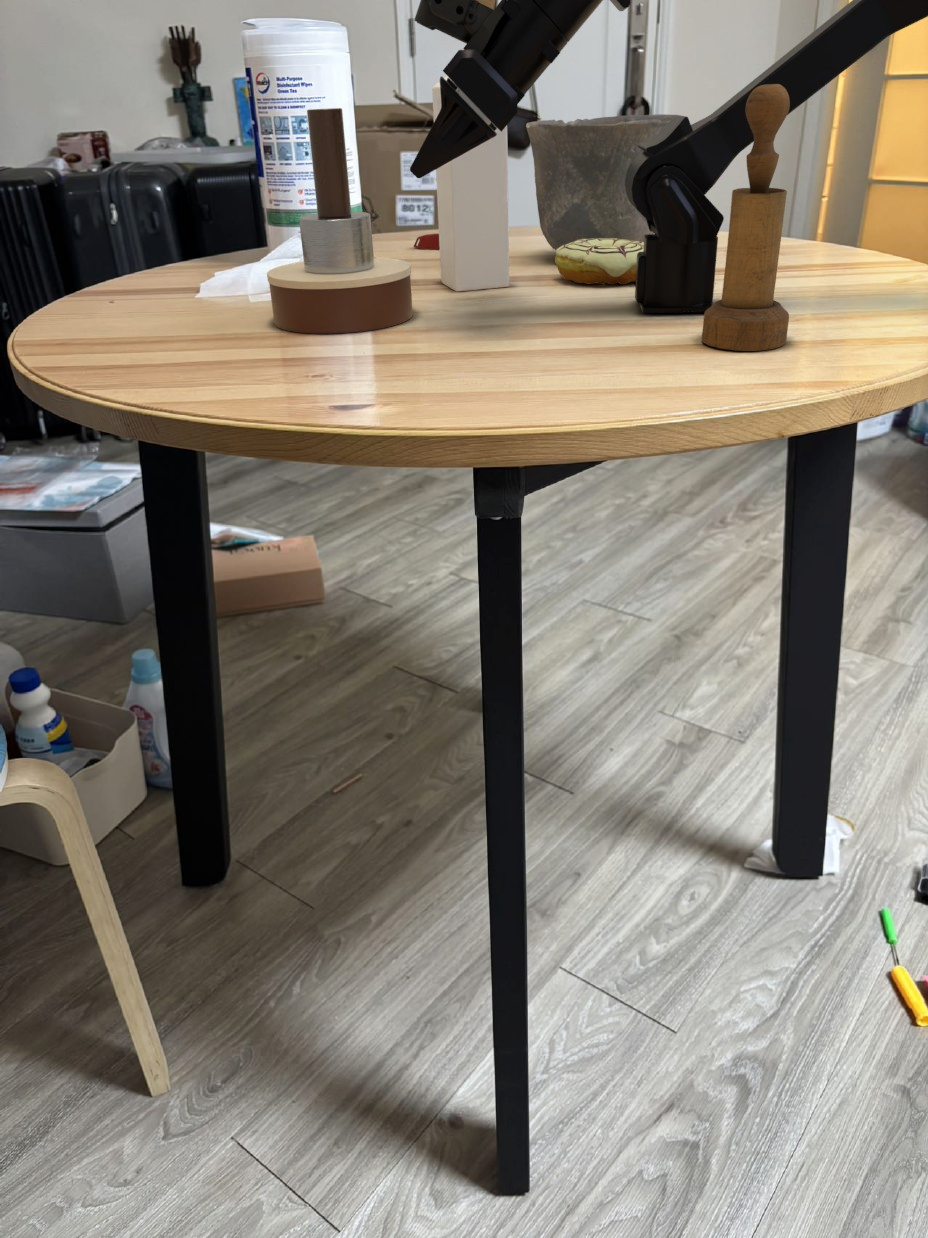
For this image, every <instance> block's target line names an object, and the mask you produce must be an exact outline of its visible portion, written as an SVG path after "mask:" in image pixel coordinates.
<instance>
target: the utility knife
mask: <svg viewBox="0 0 928 1238" xmlns="http://www.w3.org/2000/svg"><path fill="white" fill-rule="evenodd" d="M413 248H414V249H418V250H440V247H439V233H428V234H423V235H419V236H418V237H417V238H416V240H415V242H414V244H413Z"/></svg>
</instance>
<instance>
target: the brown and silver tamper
mask: <svg viewBox="0 0 928 1238" xmlns="http://www.w3.org/2000/svg"><path fill="white" fill-rule="evenodd" d="M306 116H307V126H308V134H309V144H310V153H311V154H310V155H311V162H312V164H311V165H312V173H313V183H314V192H315V201H316V202H315V203H316V211H317V213H310V214H305V215H302V216H299V217H298V223H299V231H300V241H301V249H302V250H301V251H302V257H303V258H302V259H303V261H304V268H305V271H306V272H309V273H314V274H344V273H354V272H360V271H365V270H369V269H371V268H373V267H374V257H375V256H374V243H373V231H372V218H371V213H370V212H365V211H352V206H351V205H352V204H351V195H350V183H349V172H348V171H349V169H348V160H347V149H346V138H345V125H344V114H343V108H341V107H334V108H333V107H331V108H313V109H312V108H311V109H307V110H306Z"/></svg>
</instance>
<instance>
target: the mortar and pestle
mask: <svg viewBox="0 0 928 1238" xmlns="http://www.w3.org/2000/svg"><path fill="white" fill-rule="evenodd" d="M789 107H790V100H789V95H788V93H787V91H786V89H785V88H784V87H783V86H782V85H780V84H767V85H766V84H765V85H761V86H758V87H757V88H755V89H754V90H753V91H752V92H751V94H750V95H749V97H748V99H747V102H746V108H745V112H746V117H747V120H748V122H749V125H750V127H751V130H752V132H753V135H754V142H752V147H751V149H750V152H749V153H748V154H746V171H747V177H748V184H749V187H739V188H735V189H733V190H732V192H731V203H730V213H729V223H728V224H729V225H728V236H727V246H726V257H725V265H724V274H723V284H722V293H721V299H718V300H716V301H714V304H713V305H712V306H711V307H710V308H708V309H707V310H706V311H705V312H703V313H704V314H703V320H702V321H703V323H702V332H701V341H702V343H704V344H705V345H707V346H709V347H713V348H716V349H720V350H730V351H739V352H759V351H769V350H774V349H778V348H781V347H783V346H784V345H785V344H786V343H787V338H788V330H789V323H790V322H789V321H790V313H789V312H788V311H787V310H786V309H785V308H784V307H783V305H782V304H781V303H780V302H779V301H777V300H774V298H775V290H776V281H777V274H778V266H779V257H780V249H781V242H782V234H783V226H784V217H785V211H786V210H785V209H786V202H787V194H788V190H786V189H783V188H777V187H770V186H771V183H772V180H773V177H774V174H775V172H776V169H777V165H778V162H779V158H780V154H779V153H777V152H776V150H775V146H774V142H775V139H776V136H777V134H778V132H779V130H780V129H781V127H782V125H783V123H784V121H785V120H786V118H787V117H788V115H789V114H788V111H789ZM787 114H788V115H787Z"/></svg>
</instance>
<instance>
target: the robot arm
mask: <svg viewBox="0 0 928 1238" xmlns="http://www.w3.org/2000/svg"><path fill="white" fill-rule="evenodd" d="M603 1H604V0H500V1H499V3H498V4H497V5H496V7H495V8H494V9H493V8H492V7H490V6H487V5H485V4H483V3H481V2H480V1H478V0H420V2H419V5H418V8H417V10H416V14H415V16H414V20H413V21H414V22H415V23H417V24H418V25H420V26H422V27H424V28H426V29H429V30H430V31H435V30H436V31H439V32H441V33H443V34H445V35H448V36H449V37H451V38H454V39H455V40H458V41H460V42H462V43H464V44H465V46H464V47H463V48H462V49H464V50H459V49H458V50H457V52H456V53H455V54H454V55H453V57H452V58H451V59H450V60H449V62H448V63H447V64H446V66H445V67H444V68H443V69H442V72H443V73H444V74H445V75H446V76H448V77H449V78H447V81H446V80H445V79H444V78H445V77H444V76H440V77H439V82H440V91H441V110H440V112H439V114H438V116H437V118H436V120H435V122H434V121H433V123H432V126H431V128H430V130H429V131H428V133H427V135H426V137H425V139H424V141H423V143H422V144H421V147H420V149H419V150H418V151H417V153H416V156H415V157H414V160H413V162H412V163H411V165H410V167H409V171H410V173H411V174H412V175H413V176H414V177H415V178H417V179H422V178H423V177H425V176H427V175H429V174H431V173H432V172H434V171H436V169H438V168H439V167H441V166H443V165H445V164H446V163H448V162H450V161H452V160H453V159H455V158H457V157H459V156H461V155H463V154H464V153H466V152H468V151H470V150H472V149H473V148H475V147H477V146H479V145H480V144H482V143H484V142H486V141H488V140H489V139H491V138H493V137H495V136H496V135H497V133H496V132H495V130H496V129H497V128H498V129H499V130H500V131H501V132H502V130H503V129H504V128H505V127H506V126H507V127H508V125H509V124H510V123H511V121H512V120H513V119H514V117H515V116H516V115H517V114H518V113H519V111H518V104H519V103H520V102H521V101H522V100H523V99H524V97H525V96H526V94H527V92H529V90H530V89H531V88H532V87H533V85H534V84H535V83H536V82H537V80H538V79H539V78H540V77H541V76H542V74H543V73H544V72H545V71H546V70H547V69H548V67H549V66H550V65H551V64H553V62H554V61H555V60H556V59H557V58H558V56H559V55H560V54H561V51H563V49H564V48H565V47H566V46H567V45H568V43H569V42H570V41H571V40H572V39H573V37H574V36H575V35H576V34H577V32H579V29H581V27H582V26H583V25H584V24H585V23H586V21H587V20H588V19H589V18H590V17H591V15H592V14H593V13H594V12H595V11H596V9H597V8H598V7H599V6H600V5H601V4H602V3H603ZM609 1H610V2H611V4H612V5H613V6H614V7H615V9H616V10H617V11H619V12H624V11H625V10H626V9H628V8H629V7H630V6H631V3H632V2H631V1H632V0H609ZM926 18H928V0H851V1H850V2H848V3H847V4H846V5H844V6H843V7H842V8H841V9H840V10H838V11H837V12H836V13H835V14H833V15H832V16H831V17H830V18H828V19H827V20H826V21H825V22H823V23H822V24H821V25H820V26H818V27H817V28H816V29H815V30H814V31H812V32H811V33H810V34H809V35H808V36H806V37H805V38H803V40H801V41H800V42H799V43H798V44H796V45H795V46H794V47H792V48H791V49H790V50H789V51H788V52H786V53H785V54H784V55H782V56H781V57H780V58H779V59H777V61H775V62H774V63H773V64H771V65H770V66H769V67H768V68H766V69H765V70H764V71H763V72H762V73H760V74H759V75H758V76H756V78H754V79H753V80H752V81H751V82H749V83H748V84H746V85H745V86H744V87H743V88H742V89H741V90H739V91H738V92H737V93H736V94H734V95H733V96H731V97H730V99H728V100H727V101H726V102H724V103H723V104H722V105H721V106H720V107H718V108H717V109H715V110H714V111H713V112H712V113H711V114H709V115H708V116H706V117H704V118H702V119H700V120H698V121H696V122H693V123H691V121H690V119H689V117H688V116H685V115H681V114H674V115H675V116H674V117H673V118H672V119H671V120H670V121H669V122H668V123H667V124H666V125H665V126H664V127H663V129H662V130H661V131H660V132H659V133H658V134H657V135H656V136H655V137H653V138H651V139H650V140H648V141H646V142H642V143H639V144H638V148H640V149H642V150H644V151H642V152H641V153H639V154H638V155H637V156H636V157H635V158H634V160H633V161H632V162H631V163H630V165H629V167H628V170H627V174H626V179H625V188H626V194H627V197H628V199H629V201H630V203H631V204H632V205H633V206H634V207H635V208H636V209H637V210H638V211H639V212H640V213H641V214H642V216H643V217H645V218H646V221H647V225H648V228H649V230H650V231H652V232H653V233H654V234H646V235H644V250H643V252H639V253H638V254H637V263H636V282H635V286H634V287H635V288H634V299H635V302H636V303H637V305H640V309H641V312H642V313H643V314H664V313H665V314H674V313H675V314H679V313H705V311H706V310H707V309H708V308H710V307H711V306H712V305H713V304H714V303H715V301H714V291H715V279H716V267H717V255H718V244H719V243H718V242H719V237H718V235H719V232H720V229H721V227H722V225H723V222H724V220H725V217H724V215H723V214H722V212H721V211H720V210H719V209H718V208H717V207H716V206H715V205H714V203H712V202H711V200H710V199H708V197H707V196H706V194H707V193H709V191H710V190H711V189H712V188H713V187H714V186H715V184H717V182H718V181H719V180H720V178H721V177H722V175H723V174H724V173H725V171H726V170H727V169H728V167H729V166H730V165H731V164H732V162H733V161H734V160H735V158H736V157H737V156H738V155H739V154H740V153H741V152H742V151H744V150H745V149H746V148H747V147H749V146H750V145H751V144H753V143H754V135H753V132H752V130H751V127H750V125H749V122H748V120H747V117H746V112H745V108H746V102H747V99H748V97H749V95H750V94H751V92H752V91H753V90H754V89H755V88H757V87H758V86H761V85H765V84H766V85H767V84H780V85H782V86H783V87H784V88H785V89H786V91H787V93H788V95H789V100H790V107H789V111H788V114H787V116H789V115H790V114H791V113H792V112H793V111H796V109H797V108H799V107H800V106H801V105H802V104H804V103H805V102H806V101H807V100H809V99H811V98H812V97H813V96H814V95H816V94H817V93H818V92H819V91H820V90H822V89H823V88H824V87H825V86H827V85H828V84H830V83H831V82H833V80H834V79H836V78H837V77H839V75H841V74H842V73H844V71H846V70H847V69H848V68H849V67H851V66H852V65H854V64H855V63H856V62H857V61H858V60H860V59H861V58H862V57H864V56H865V55H867V54H868V53H869V52H870V51H872V50H873V49H874V48H875V47H876V46H878V45H879V44H880V43H882V42H883V41H884V40H885V39H887V38H888V37H891V36H892V35H893V34H895V33H897V32H899V31H901V30H903V29H905V28H907V27H909V26H911V25H914V24H916V23H917V22H920V21H921V20H924V19H926ZM454 83H455V84H456V85H455V84H454ZM680 115H681V116H680ZM496 127H497V128H496Z"/></svg>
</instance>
